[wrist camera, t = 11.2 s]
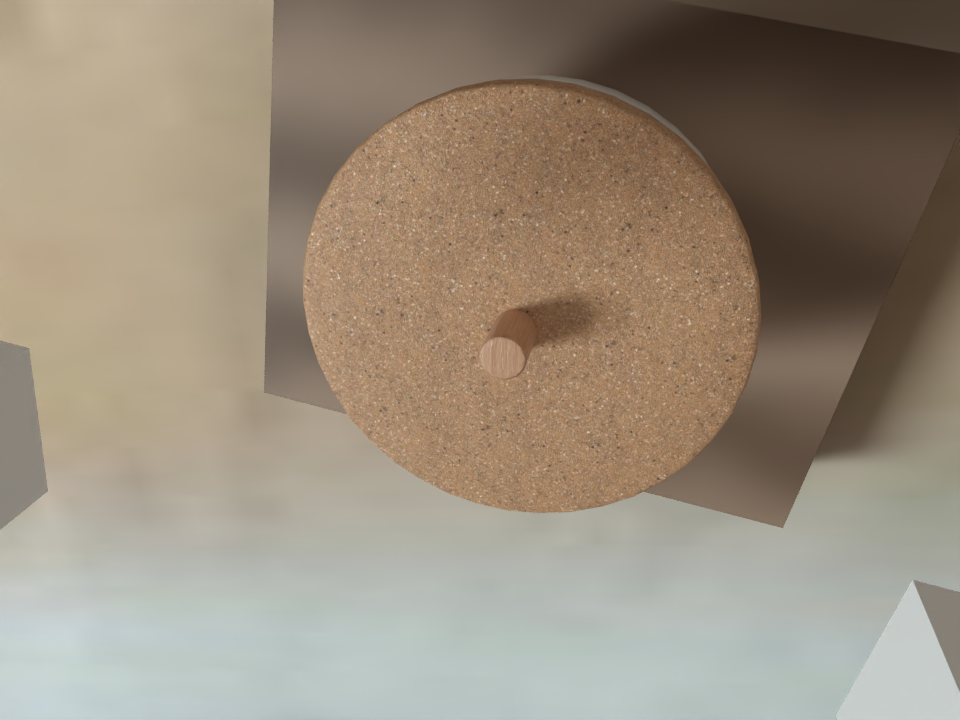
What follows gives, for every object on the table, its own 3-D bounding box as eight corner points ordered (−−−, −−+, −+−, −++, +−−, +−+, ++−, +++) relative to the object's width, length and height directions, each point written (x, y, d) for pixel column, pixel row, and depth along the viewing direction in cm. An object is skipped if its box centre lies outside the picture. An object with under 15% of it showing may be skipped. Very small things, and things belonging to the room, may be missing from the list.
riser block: (770, 465, 31) (794, 585, 25) (306, 348, 33) (225, 432, 27) (974, -28, 22) (1089, -31, 16) (333, -136, 25) (222, -173, 19)
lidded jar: (766, 59, 21) (827, 110, 13) (705, 399, 26) (721, 593, 18) (394, 43, 23) (241, 77, 15) (402, 360, 28) (290, 520, 20)
